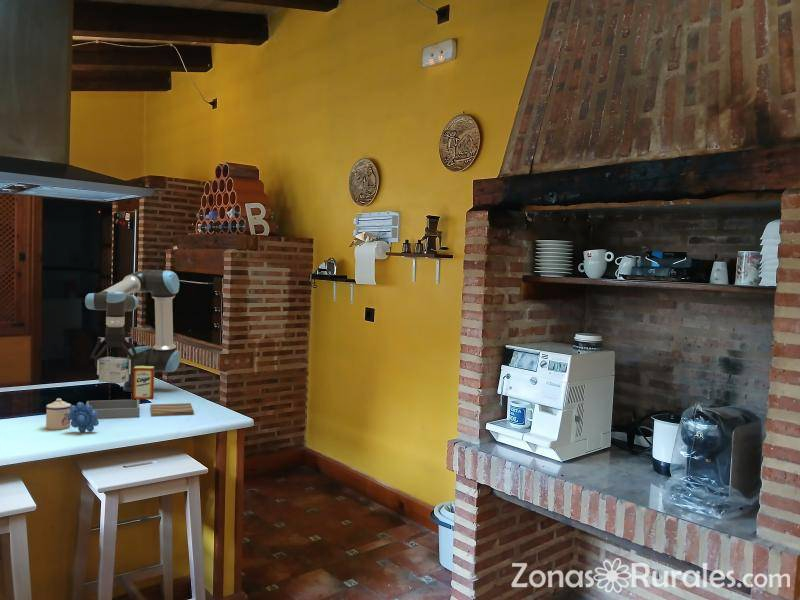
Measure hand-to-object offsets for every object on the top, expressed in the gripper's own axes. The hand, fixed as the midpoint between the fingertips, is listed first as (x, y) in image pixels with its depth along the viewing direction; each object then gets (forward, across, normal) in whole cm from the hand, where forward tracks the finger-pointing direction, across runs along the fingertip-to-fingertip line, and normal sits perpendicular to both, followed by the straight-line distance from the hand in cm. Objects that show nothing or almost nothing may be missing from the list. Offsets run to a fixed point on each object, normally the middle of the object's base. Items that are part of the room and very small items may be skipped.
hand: (114, 374), depth 280 cm
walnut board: (+18, +25, 0) cm, 31 cm away
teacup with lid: (+18, -19, -20) cm, 33 cm away
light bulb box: (+4, 0, 0) cm, 4 cm away
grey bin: (+18, 0, 0) cm, 18 cm away
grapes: (+18, -10, -32) cm, 38 cm away
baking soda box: (+18, +13, +32) cm, 39 cm away
